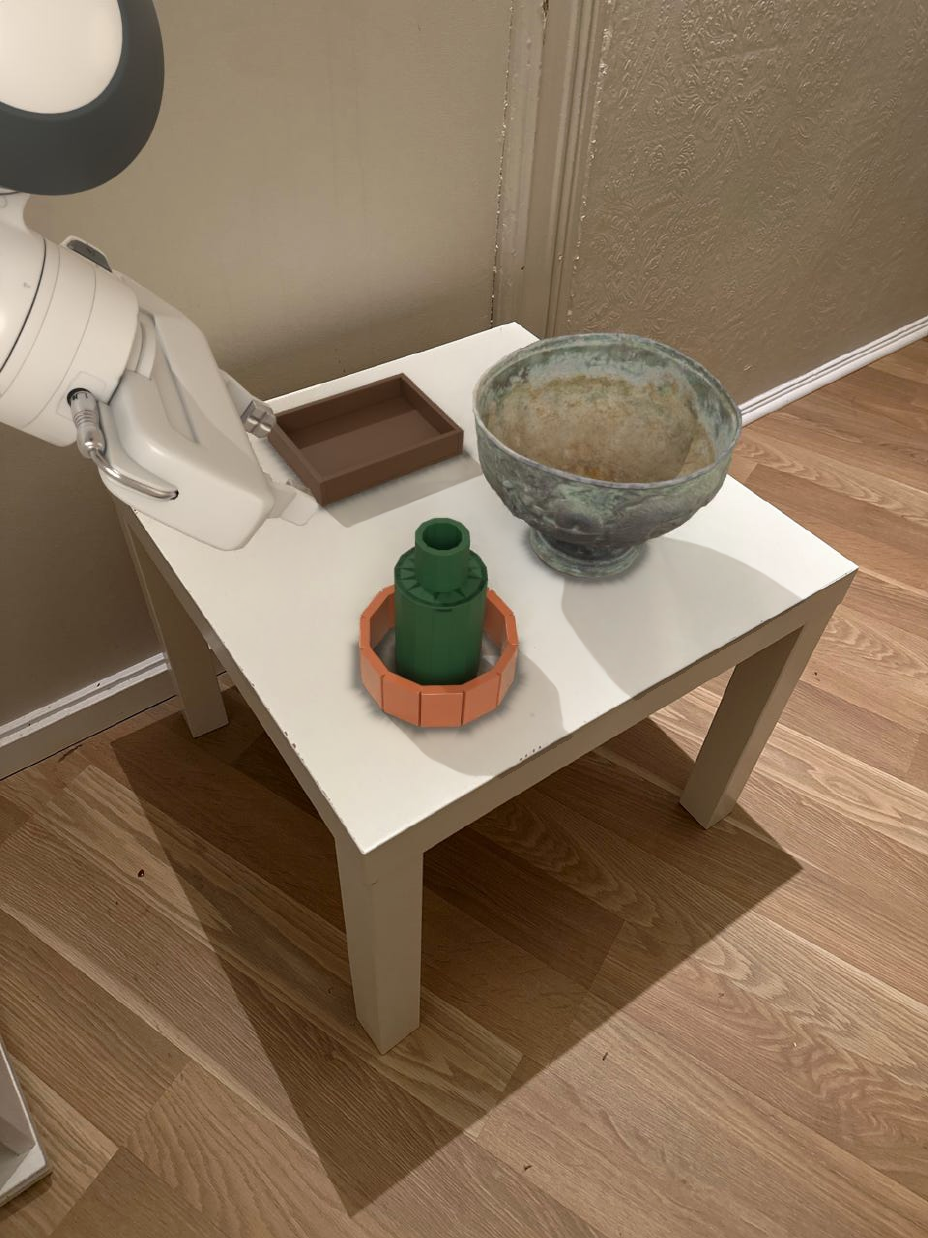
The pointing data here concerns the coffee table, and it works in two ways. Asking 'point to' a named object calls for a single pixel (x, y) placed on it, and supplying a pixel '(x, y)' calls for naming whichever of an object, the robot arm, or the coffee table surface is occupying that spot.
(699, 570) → the coffee table surface
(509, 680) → the orange ring
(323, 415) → the tray
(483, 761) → the coffee table surface
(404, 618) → the bottle
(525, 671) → the coffee table surface
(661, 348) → the bowl
